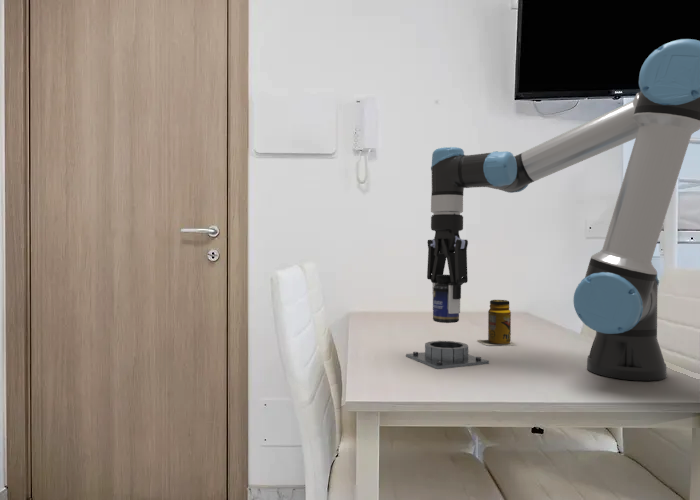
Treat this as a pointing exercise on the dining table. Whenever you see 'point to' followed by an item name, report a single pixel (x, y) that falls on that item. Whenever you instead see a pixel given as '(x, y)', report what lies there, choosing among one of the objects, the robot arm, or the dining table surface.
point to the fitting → (446, 355)
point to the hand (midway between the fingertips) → (446, 311)
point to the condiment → (498, 324)
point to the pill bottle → (442, 301)
